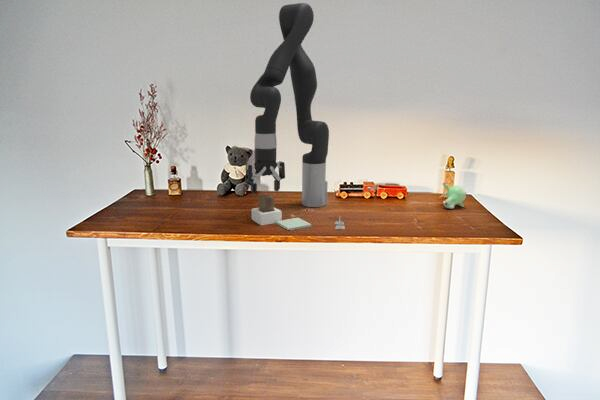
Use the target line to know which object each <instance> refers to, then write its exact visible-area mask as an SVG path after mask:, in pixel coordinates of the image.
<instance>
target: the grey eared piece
mask: <svg viewBox="0 0 600 400" xmlns="http://www.w3.org/2000/svg"><path fill="white" fill-rule="evenodd" d="M338 220H339V221H338ZM338 220H336V221H335V222H334V225H335V227H334V228H335V230H346V227H345V222H344V221H341V216H339V217H338Z"/></svg>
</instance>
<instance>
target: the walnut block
mask: <svg viewBox="0 0 600 400" xmlns="http://www.w3.org/2000/svg"><path fill="white" fill-rule="evenodd" d="M274 207H275V197H274V196H272V195H271V194H263V195H258V208H259V211H261V212H263V213H265V212H271V211H274Z"/></svg>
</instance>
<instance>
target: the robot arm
mask: <svg viewBox="0 0 600 400" xmlns="http://www.w3.org/2000/svg"><path fill="white" fill-rule="evenodd" d="M314 17H315V16H314V11H313V8H312V7H311V5H310V4H308V3H306V2H305V3H304V2H299V3H292V4H291V3H290V4H285V5H282V6H281V8H280V10H279V13H278V21H279V22H278V23H279V26H280V27H279V28H280V31H281V34H282V38H283V39H282V40H283V41H282V42H281V44H280V45H278V46H277V47H276V49H275V50H274V51H273V52H272V54H271V56H270V57H269V60H268V62H267V64H266V67H265V70H264V72H263V73H262V74H261V76H260V77H259V78H258V80H257V81H256V82H255V84H254V85H253V87H252V89H251V90H250V95H249V98H250V102H251V104H252V106H253V107H256V108H260V109H261V108H262V109H264V111H263V114H259V115H257V116H256V117H255V121H254V126H255V127H254V132H255V134H254V163H253V164H249V163H246V165H245V175H244V176H245V178H244V180H245V182H248V183H250V192H252V194H253V195H257V193H258V191H257V189H258V188H257V187H258V186H257V185H258V183H257V182H258V181H259V180H260V178H262V177H266V176H271V177H272V178H273V179H274V181H273V190H274V192H279V191H280V189H281V180H283V179H285V178H286V167H285V162H284V161H280V160H279V161H278V162H277V147H278V145H277V143H278V142H277V133H276V132H277V118H278V115H279V111H280V108H281V103H282V94H281V92H280V90H279V89H278V88H277V86H280V85H281V84H282V83H283V82H284V80H285V78H286V75H287V72H288V70H289V72H290V79H291V84H292V90H293V95H294V103H295V109H296V110H295V112H296V125H297V126H296V127H297V128H296V129H297V135H298V138H299V140H300V142H301V143H303V144H306V145H311V151H310V152H306V153H304V154H303V155H302V157H301V158H302V159H301V160H302V162H301V163H302V164H301V165H302V167H301V171H302V173H301V175H302V176H301V179H302V180H301V184H302V185H301V204H302V206H304V207H309V208H319V207H324V206H325V205H328V180H326V178H327V176H326V168H327V165H326V164H327V161H326V160H327V157H328V152H329V140H330V128H329V126H328V124H327V123H326V122H325V121H320V120H313V118H312V112H311V111H312V109H311V108H312V103H313V100H314V97H315V94H316V92H317V89H318V80H317V73H316V68H315V65H314V63H313V61H312V60H311V58H310V57H309V55H308V54H307V52H306V51H305V50H304V48H303V46H302V43H303V41H304V40H305V39H306V38H305V37H306V36H307V35H308V33H309V32H310V30H311V28H312V26H313V23H314V20H315V19H314ZM254 169H255V171H254ZM276 169H278V173H277V171H276ZM253 171H254V172H253Z"/></svg>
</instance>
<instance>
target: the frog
mask: <svg viewBox="0 0 600 400" xmlns="http://www.w3.org/2000/svg"><path fill="white" fill-rule="evenodd" d="M441 184H442V186H443V187H444V188H445V189H446V191H447V192H446V193H444V194H443V193H442V194H441V195H440V196H438V197H439V199H441V198H444V197H447V199H445V200H443V201H442V202H443V203H442V204H443V205H444V207H445V208H446V209H448V210H452V209H454V208H455V206H456V205H457V204H458V205H459V206H460V207H461V208H464V207H465V206H464V203H462V202H463V201H465V199H466V196H467V192H466V190H465V189H464V188H463V187H462V186H461V185H453V186H451V187H450V186H449V184H448V183H447V182H446V181H443V182H442V183H441Z"/></svg>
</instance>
